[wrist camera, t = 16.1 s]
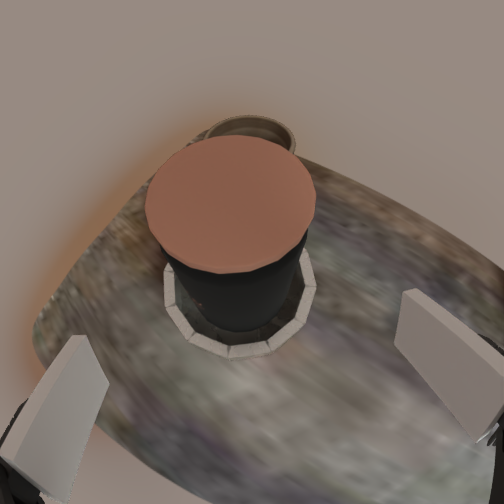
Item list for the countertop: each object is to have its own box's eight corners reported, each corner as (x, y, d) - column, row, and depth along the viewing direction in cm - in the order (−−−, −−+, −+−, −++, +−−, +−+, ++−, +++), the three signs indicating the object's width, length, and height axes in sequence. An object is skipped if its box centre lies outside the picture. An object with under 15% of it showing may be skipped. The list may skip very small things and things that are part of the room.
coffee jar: (201, 247, 35) (168, 134, 19) (285, 252, 35) (310, 138, 19) (189, 330, 30) (123, 261, 14) (283, 337, 30) (322, 274, 14)
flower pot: (242, 154, 44) (241, 104, 35) (301, 184, 41) (312, 133, 32) (195, 197, 40) (182, 146, 31) (257, 236, 37) (259, 186, 28)
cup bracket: (291, 226, 37) (295, 208, 34) (320, 346, 30) (329, 340, 26) (171, 242, 36) (163, 226, 33) (178, 366, 29) (168, 363, 25)
